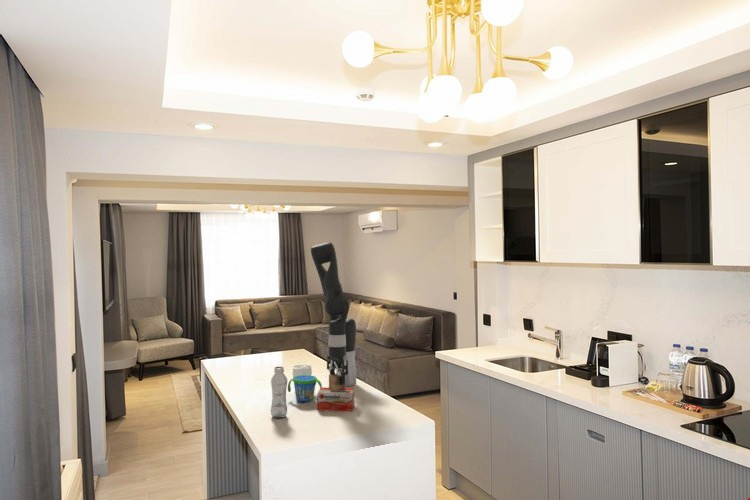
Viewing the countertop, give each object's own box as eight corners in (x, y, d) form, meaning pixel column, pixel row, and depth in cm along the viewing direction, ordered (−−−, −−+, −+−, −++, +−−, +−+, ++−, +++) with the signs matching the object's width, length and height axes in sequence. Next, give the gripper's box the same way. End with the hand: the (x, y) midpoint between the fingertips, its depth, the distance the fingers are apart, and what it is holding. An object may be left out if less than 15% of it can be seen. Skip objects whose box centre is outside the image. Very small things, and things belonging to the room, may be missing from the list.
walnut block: (338, 387, 223) (338, 373, 223) (344, 389, 219) (344, 375, 219) (328, 388, 220) (328, 375, 220) (334, 391, 216) (334, 377, 216)
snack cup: (325, 398, 232) (325, 376, 233) (316, 405, 222) (316, 381, 222) (294, 395, 237) (294, 373, 237) (283, 402, 227) (283, 379, 227)
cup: (308, 395, 238) (308, 369, 238) (289, 394, 240) (289, 368, 240) (314, 390, 247) (314, 365, 247) (296, 389, 249) (296, 364, 249)
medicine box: (316, 411, 215) (316, 392, 215) (320, 405, 223) (320, 387, 223) (352, 411, 214) (352, 392, 214) (354, 406, 222) (354, 387, 222)
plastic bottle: (271, 414, 210) (271, 365, 210) (288, 414, 210) (288, 365, 210) (269, 419, 203) (269, 369, 203) (286, 419, 204) (286, 369, 204)
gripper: (353, 346, 216) (353, 384, 216) (336, 341, 228) (336, 377, 228) (337, 348, 212) (337, 387, 212) (321, 343, 224) (321, 380, 223)
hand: (337, 382), depth 220 cm, fingers open, 8 cm apart
